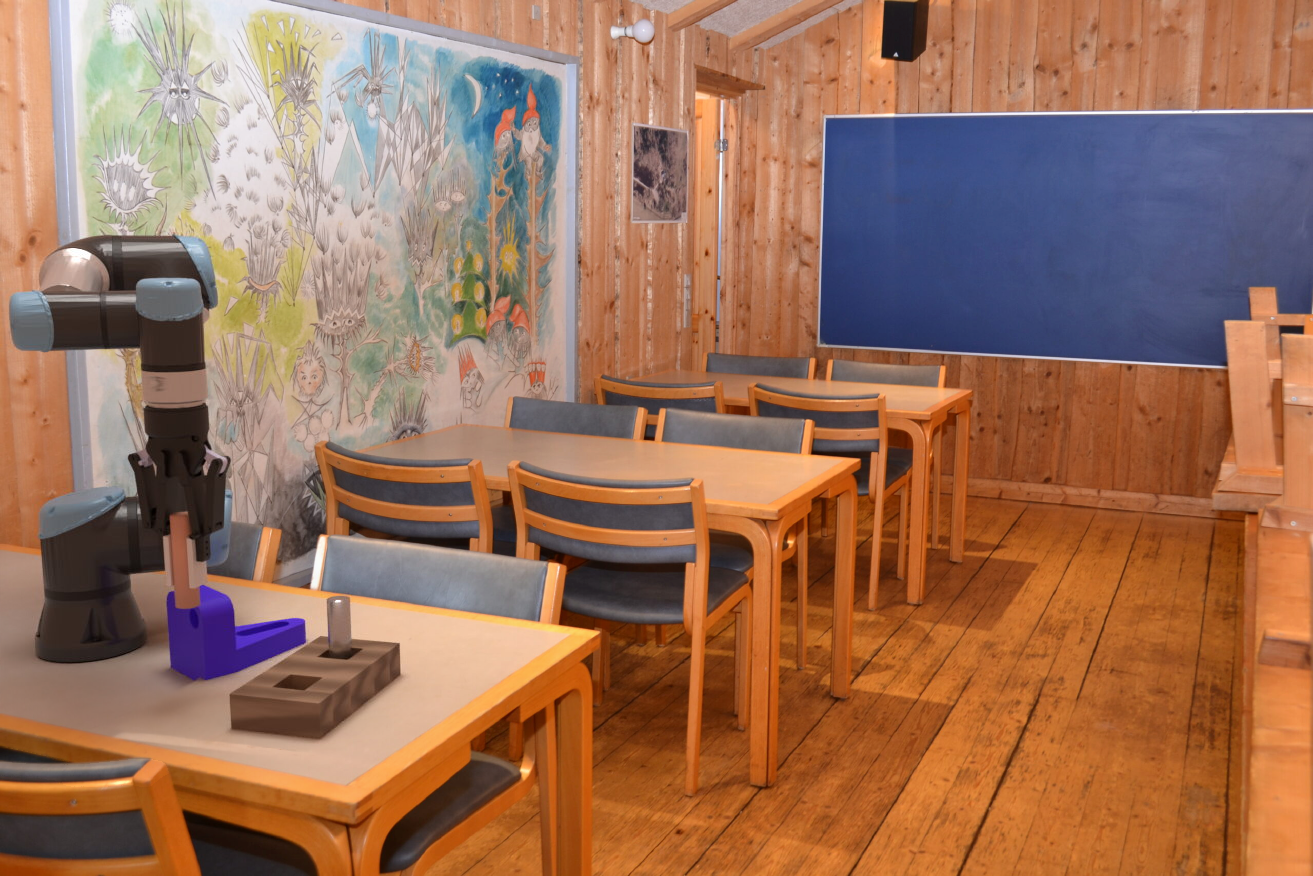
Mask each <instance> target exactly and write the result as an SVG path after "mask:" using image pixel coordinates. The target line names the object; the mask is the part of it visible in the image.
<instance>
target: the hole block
mask: <svg viewBox="0 0 1313 876" xmlns="http://www.w3.org/2000/svg"><path fill="white" fill-rule="evenodd" d="M351 639H352V657H351V658H350V659H348V660H343V659H332V658H329V645H328V636H326V635H325V636H324V635H323V636H322V635H320V636H318V637H317V638H315V639H314V640H312V641H310V642H309V643H307V644H306V645H304V646H302V647H301V648H300V649H297V650H296V651H294V652H293V653H291V654H290V655H288V656H286V657H285V658H284V659H282V660H281V661H279V662H277V663H276V664H274V665H273V666H271V667H270V668H268V669H266V670H265V671H263V672H262V673H260V674H258V675H257V676H255V677H254V678H252V679H250V680H249V681H248V682H245V684H243V685H242V686H239V687H238V688H236V689H234V690H233V691H232V692H230V693H229V709H230V710H229V711H230V726H231V727H230V729H231V730H232V731H233V730H235V731H243V732H253V733H262V734H270V735H279V736H288V737H289V736H290V737H296V738H297V737H298V738H307V739H313V740H322V739H323V738H324V737H326V736H327V734H329V733H330V732H331V731H333V730H334V729H335V728H337V726H339V725H340V724H341V723H342V722H344V721H346V719H347V718H349V717H351V715H352V714H354V713H355V712H356V711H357V710H359V709H360V708H361V707H363V706H364V704H366V703H367V702H369V701H370V700H371V699H372V698H373V697H374V696H376V695H377V694H378V693H380V692H381V691H382V690H383V689H385V688H386V687H387V686H389V685H390V684H391V683H392V682H393V681H395V680H396V679H397V678H399V676H401V648H400V647H401V646H400V645H401V644H400V642H391V641H390V642H389V641H381V640H371V639H370V640H367V639H356V638H351Z"/></svg>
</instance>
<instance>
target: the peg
mask: <svg viewBox="0 0 1313 876" xmlns="http://www.w3.org/2000/svg"><path fill="white" fill-rule="evenodd" d="M170 529H171V545H172V560H173V576H174V585H173V587H174V590H173V591H174V592H175V607H176V608H180V609H189V608H194V607H197V606H199V605H200V587H197V588H195V589H194V588H189V572H188V556H187V540H186V538H189V536H188V535H191V534H192V532H191V527H190V521H189V516H188V512H177V513H172V514H170Z"/></svg>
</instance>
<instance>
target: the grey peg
mask: <svg viewBox="0 0 1313 876" xmlns="http://www.w3.org/2000/svg"><path fill="white" fill-rule="evenodd" d="M351 614H352V613H351V598H350V596H348V595H333V596H330V597H327V599H326V616H327V635H328V636H327V637H328V645H329V658H332V659H343V660H348V659H350V658H351V657H352V639H353V638H352V621H351V620H352V619H351V618H352V616H351Z"/></svg>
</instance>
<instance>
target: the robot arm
mask: <svg viewBox="0 0 1313 876" xmlns="http://www.w3.org/2000/svg"><path fill="white" fill-rule="evenodd" d="M211 257H212V256H211V252H210V249H209V247H208V245H207V243H206V242H205V241H204V240H203V239H202V238H201V237H197V236H188V235H187V236H186V235H179V234H172V235H132V234H131V235H130V234H129V235H126V234H125V235H122V234H120V235H119V234H118V235H117V234H116V235H113V234H102V235H101V234H99V235H92V236H88V237H84V238H80V239H76V240H74V241H72V242H69V243H67V244H64V245H62V246H60V247H58V248H57V249H55V250H53V251H52V252H51V253H50V254H49V255H48V256H46V258H45V259H44V261H43V262H42V263H41V266H40V269H39V273H38V284H39V290H37V289H33V290H30V291H17V292H14V293H13V294H11V296H10V298H9V300H8V301H9V303H8V320H9V329H10V335H11V341H12V345H14V347H15V348H16V349H17V350H19V351H22V352H42V353H48V352H57V351H61V352H62V351H64V352H65V351H87V350H90V351H91V350H133V349H135V350H139V354H140V375H141V388H142V390H141V391H142V393H141V394H142V400H143V401H144V403H146V405H145V406H144V408H142V409H143V411H142V412H143V424H144V425H143V426H144V433H145V434H146V435H147V440H146V444H145V448H143V449H142V450H140V451H135V452H132V453H129V454H128V455H127V460H128V463H129V465H130V468H131V469H132V471H133V474H134V479H135V486H136V492H137V496H135V495H134V496H127V493H126V491H125V490H124V488H123V487H121V486H100V487H99V486H98V487H92V488H86V489H82V490H81V489H80V490H76V491H73V492H69V493H66V494H62V495H60V496H56V497H54V498H52V499H50V500H48V501H46V502H45V503H44V504H43V505H42V506H41V508H40V509H39V512H38V530H39V532H38V533H37V538H38V539H39V541H40V553H41V564H42V578H43V579H42V581H43V592H44V602H43V606H42V610H41V613H40V618H39V622H38V625H37V631H36V633H35V636H34V650H35V654H36V656H37V657H39V658H41V659H43V660H47V661H51V662H61V663H79V662H91V661H96V660H103V659H108V658H112V657H117V656H120V655H123V654H127V653H128V652H132V651H134V650H136V649H138V648H140V647H142V646H143V645H144V644H145V643H146V642H147V640H148V631H147V630H148V629H147V623H146V621H145V619H144V618H143V617H142V613H141V610H140V608H139V605H138V604H137V603H138V602H137V600H136V598H135V597H134V594H133V590H132V582H131V575H137V574H147V573H150V574H151V573H159V572H164V574H165V586H166V587H174V576H173V560H172V545H171V529H170V514H172V513H177V512H188V516H189V521H190V527H191V532H192V534H191V535H188V536H189V538H186V540H187V556H188V572H189V588H194V589H195V588H197V587H199V586H201V585H205V584H207V583H208V571H207V569H208V567H209V568H210V567H215V566H219V565H222V564H224V562H226V560H227V559H228V556H229V554H230V553H229V551H230V541H231V531H232V516H233V515H232V513H233V495H234V492H233V491H232V490H231V489H228V488H226V487H227V486H226V483H227V473H228V470H229V468H230V465H231V463H232V459H231V457H230V456H229V455H223V456H221V455H220V454H218V453H216V452H215V451H213V449H212V446H211V444H210V442H209V440H210V439H209V431H210V413H209V405H208V404H207V400H206V399H208V397H209V395H208V380H207V379H208V378H207V377H208V376H207V367H206V359H205V358H206V357H205V356H206V355H205V354H206V353H205V352H206V351H205V325H204V324H205V323H207V321H208V320H209V319H210V316H211V315H210V310H213V309H215V308H217V307H218V304H219V296H218V288H217V283H216V274H215V270H214V264H213V261H212V260H213V259H212V258H211Z"/></svg>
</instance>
